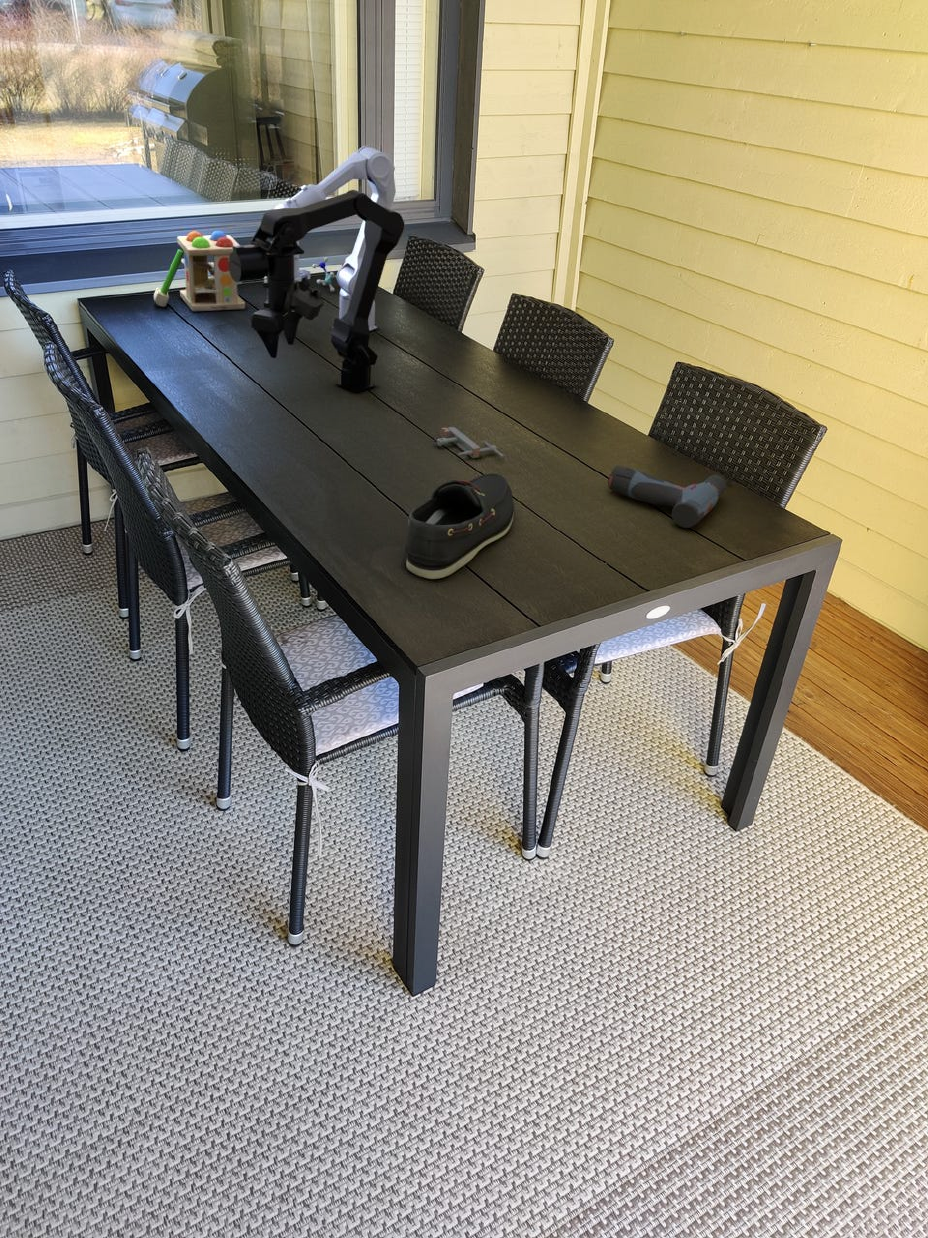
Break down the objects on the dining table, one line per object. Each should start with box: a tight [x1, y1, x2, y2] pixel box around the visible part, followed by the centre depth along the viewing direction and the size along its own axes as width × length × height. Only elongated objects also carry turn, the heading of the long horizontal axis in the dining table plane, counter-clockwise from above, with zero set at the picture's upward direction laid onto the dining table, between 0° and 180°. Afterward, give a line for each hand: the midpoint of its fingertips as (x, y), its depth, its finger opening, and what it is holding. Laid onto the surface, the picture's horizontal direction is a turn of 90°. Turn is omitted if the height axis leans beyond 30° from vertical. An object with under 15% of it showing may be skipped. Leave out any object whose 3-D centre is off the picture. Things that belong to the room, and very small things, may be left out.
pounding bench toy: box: [153, 230, 246, 312], centre depth 261 cm, size 23×14×18 cm, turn 116°
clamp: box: [436, 426, 507, 460], centre depth 201 cm, size 15×2×10 cm
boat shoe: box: [403, 472, 515, 580], centre depth 170 cm, size 13×33×10 cm, turn 147°
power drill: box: [607, 465, 727, 529], centre depth 189 cm, size 5×19×20 cm
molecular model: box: [311, 256, 345, 293], centre depth 286 cm, size 12×10×10 cm
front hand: (282, 350), depth 210 cm, fingers open, 9 cm apart
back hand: (288, 312), depth 249 cm, fingers closed on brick, 6 cm apart
